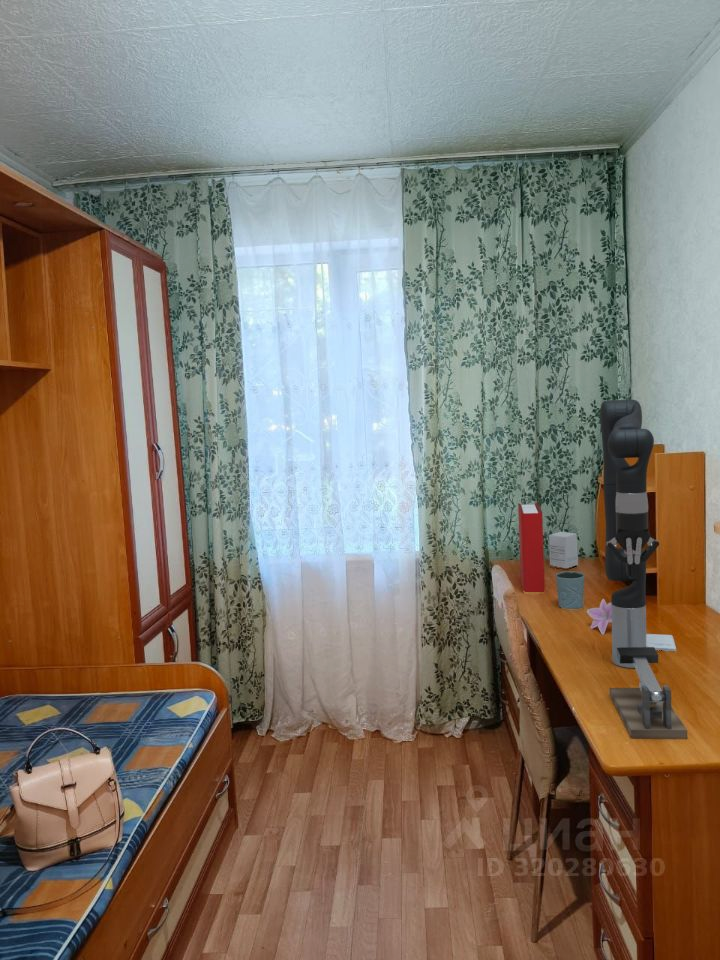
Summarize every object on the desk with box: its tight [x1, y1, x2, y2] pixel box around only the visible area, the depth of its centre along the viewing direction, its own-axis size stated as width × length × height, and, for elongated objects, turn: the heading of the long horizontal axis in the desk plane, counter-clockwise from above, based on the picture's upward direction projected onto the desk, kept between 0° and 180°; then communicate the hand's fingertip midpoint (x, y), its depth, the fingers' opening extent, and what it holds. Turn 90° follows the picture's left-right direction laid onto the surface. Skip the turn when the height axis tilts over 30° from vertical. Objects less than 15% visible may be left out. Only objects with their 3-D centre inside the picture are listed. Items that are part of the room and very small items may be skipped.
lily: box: [586, 598, 612, 636], centre depth 241 cm, size 12×12×10 cm
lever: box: [617, 647, 665, 702], centre depth 176 cm, size 21×9×4 cm, turn 173°
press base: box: [609, 684, 688, 740], centre depth 177 cm, size 24×12×11 cm, turn 173°
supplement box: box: [548, 531, 579, 568], centre depth 326 cm, size 9×9×15 cm
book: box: [517, 502, 546, 592], centre depth 298 cm, size 27×8×32 cm, turn 170°
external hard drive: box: [646, 633, 677, 653], centre depth 225 cm, size 2×8×12 cm
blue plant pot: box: [555, 570, 586, 610], centre depth 267 cm, size 10×10×12 cm
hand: (632, 577), depth 185 cm, fingers closed
